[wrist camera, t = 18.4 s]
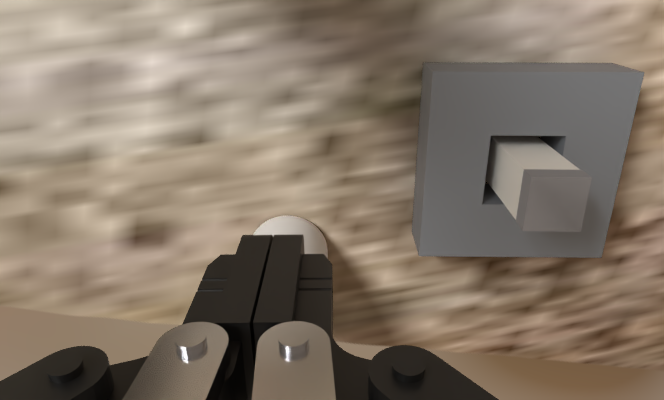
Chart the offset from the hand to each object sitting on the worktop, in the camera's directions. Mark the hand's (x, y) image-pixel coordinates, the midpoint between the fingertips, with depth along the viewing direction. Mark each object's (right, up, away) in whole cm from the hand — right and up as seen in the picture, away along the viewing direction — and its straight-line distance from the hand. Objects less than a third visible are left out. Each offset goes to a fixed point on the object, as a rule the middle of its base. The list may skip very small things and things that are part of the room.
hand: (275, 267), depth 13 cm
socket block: (+17, +6, +34) cm, 38 cm away
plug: (+17, +6, +34) cm, 39 cm away
